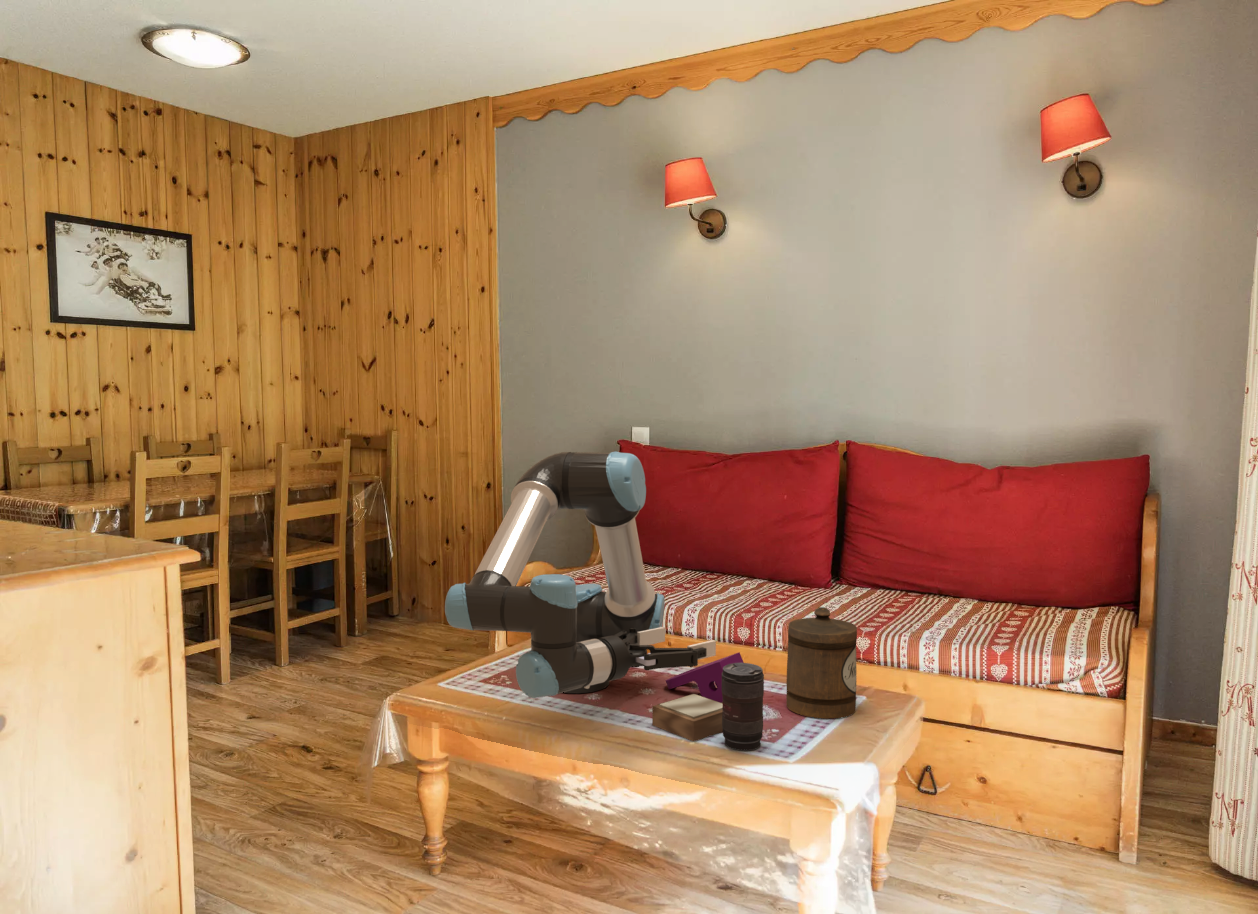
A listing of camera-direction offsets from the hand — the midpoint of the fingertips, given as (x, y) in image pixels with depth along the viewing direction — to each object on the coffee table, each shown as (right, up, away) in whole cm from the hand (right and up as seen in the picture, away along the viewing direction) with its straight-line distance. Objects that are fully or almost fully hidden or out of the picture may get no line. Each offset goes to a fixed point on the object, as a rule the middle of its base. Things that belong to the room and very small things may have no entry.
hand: (688, 640), depth 165 cm
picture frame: (+2, -20, +14) cm, 25 cm away
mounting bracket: (+6, -20, +36) cm, 42 cm away
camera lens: (+11, -21, +4) cm, 24 cm away
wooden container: (+31, -20, +26) cm, 45 cm away
